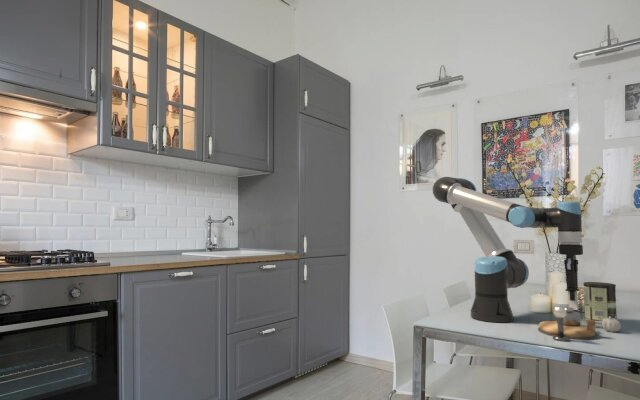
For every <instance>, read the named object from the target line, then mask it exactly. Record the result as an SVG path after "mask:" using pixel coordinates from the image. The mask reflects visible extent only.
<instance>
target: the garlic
mask: <svg viewBox="0 0 640 400" xmlns="http://www.w3.org/2000/svg"><path fill="white" fill-rule="evenodd" d="M601 326H602V328H603V329H604V331H606V332H611V333H617V332H619V331H621V328H622V324H621V322H620V321H619V320H618V318H617V319H614V318H611V316H609V318H605V319H603V321H602V323H601Z"/></svg>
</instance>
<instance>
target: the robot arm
mask: <svg viewBox="0 0 640 400" xmlns="http://www.w3.org/2000/svg"><path fill="white" fill-rule="evenodd" d="M475 185H476V184H474V183H473V182H472V181H471V180H468V179H466V178H463V177H461V178H459V177H451V176H443V177H440V178H438V179H437V180H436V181H435V182H434V183H433V186H432V194H433V196H434V198H435V199H436V200H437V201H439V202H441V203H445V204H449V205H450V206H451V208H452V209H453V211H454V212H456V213H459V214H460V216H461V218H462V219H463V221H464V222H465V224H466V226H467V227H468V229H469V230H470V233H471V234H472V236H473V237H474V238H475V241H476V242H477V243H478V245H479V247H480V249H481V251H482V252H483V254H484V256H481V257H478V258H476V260H475V261H474V267H473V268H474V300H473V303H472V306H471V309H470V318H471V319H474V320H478V321H482V322H483V321H484V322H490V323H509V322H513V321H514V313H513V311H512V308H511V305H510V302H509V298H508V289H514V288H515V289H516V288H518V287H521V286H523V285H524V284H526V282H527V280H528V279H529V274H530V270H529V267H528V265H527V264H526V262H525V261H524V260H522V259H520V258H517V256H516V255H515V253H514V252H513V250H512V249H510V248H509V249H508V248H506V246H505V245H504V243H503V241H502V240H501V238H500V237H499V235H498V234H497V232H496V231H495V229H494V228H493V225H491V222H490V220H489V219H487V217H486V215H487V216H491V217H493V218H496V219H498V220H501V221H504V222H507V223H510V224H511V225H512V226H513V227H516V228H521V229H525V228H526V229H527V228H529V229H530V228H531V229H539V228H541V229H544V228H545V229H547V228H555V229H556V228H557V238H558V239H557V241H558V242H557V243H559V244H558V254H559V255H565V259H564V260H563V261H564V262H563V263H564V265H563V266H564V270H565V279H566V288H565V292H567V298H568V299H567V300H568V302H567V303H568V307H571V308H573V311H578V310H579V304H578V303H579V302H578V300H579V299H578V292H579V291H580V290H581V289H580V288H579V286H578V283H579V282H578V271H579V269H578V268H579V267H578V266H579V259H577V256H581V255H583V254H584V247H583V244H582V243H583V238H584V237H585V235H584V234H582V233H583V229H582V227H583V226H582V208H581V204H580V202H578V201H572V200H571V201H559V202H557V203H556V206H555V207H529V206H525V205H522V204H519V203H514V202H513V201H512V202H511V201H508V200H505V199H502V198H500V197H499V198H498V197H496V196H493V195H489V194H486V193H483V192H480V191H477V188H476V186H475Z"/></svg>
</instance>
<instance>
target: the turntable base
mask: <svg viewBox="0 0 640 400" xmlns="http://www.w3.org/2000/svg"><path fill="white" fill-rule="evenodd" d="M537 331H538V332H539V333H542V334H544V335H547V336H550V337H553V334H549V333H546V332H543V331H541V330H540V326H539V327H538V328H537ZM597 338H598V335H597V333H595V336H594V337H591V338H572V337H569V340H579V341H581V340H584V341H585V340H587V341H588V340H589V341H590V340H595V339H597Z"/></svg>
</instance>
